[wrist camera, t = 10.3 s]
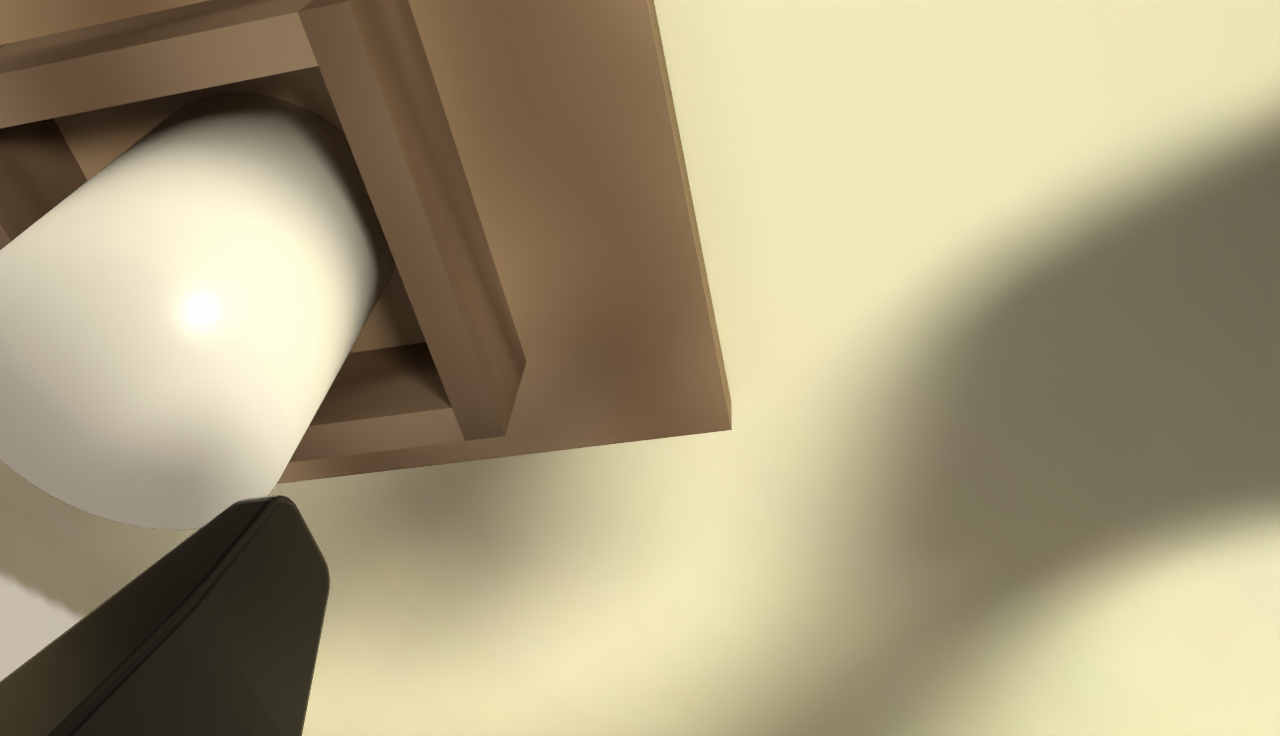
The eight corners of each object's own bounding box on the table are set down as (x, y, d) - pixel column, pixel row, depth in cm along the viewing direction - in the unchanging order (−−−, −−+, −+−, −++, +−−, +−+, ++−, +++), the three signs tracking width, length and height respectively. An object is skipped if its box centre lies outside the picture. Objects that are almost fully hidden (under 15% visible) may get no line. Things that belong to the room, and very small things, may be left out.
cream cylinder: (343, 69, 17) (194, 224, 13) (433, 309, 20) (340, 512, 15) (92, 118, 18) (-140, 280, 13) (212, 341, 21) (56, 544, 16)
